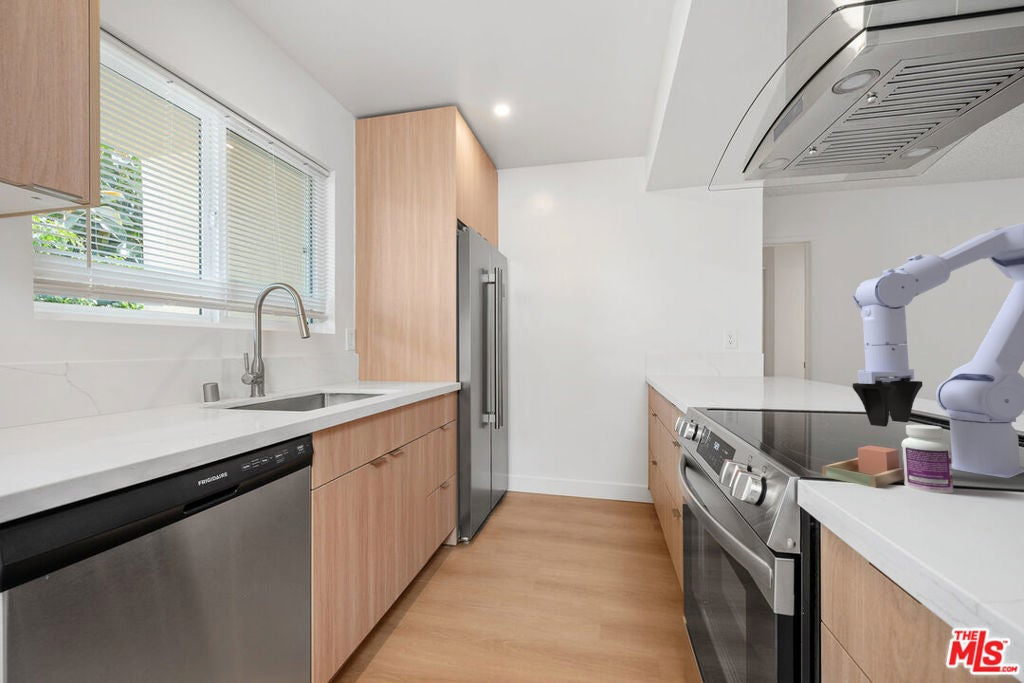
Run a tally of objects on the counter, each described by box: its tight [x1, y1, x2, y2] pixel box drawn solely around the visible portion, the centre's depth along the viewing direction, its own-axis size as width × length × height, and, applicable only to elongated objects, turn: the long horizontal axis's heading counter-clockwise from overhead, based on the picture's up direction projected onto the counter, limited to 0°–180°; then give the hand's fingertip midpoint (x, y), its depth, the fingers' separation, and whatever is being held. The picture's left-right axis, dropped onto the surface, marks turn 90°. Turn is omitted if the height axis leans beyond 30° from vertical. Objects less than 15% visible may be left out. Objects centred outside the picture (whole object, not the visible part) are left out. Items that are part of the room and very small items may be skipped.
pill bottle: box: [900, 424, 954, 494], centre depth 65 cm, size 5×5×10 cm
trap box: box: [821, 457, 904, 489], centre depth 72 cm, size 16×7×2 cm, turn 117°
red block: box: [857, 445, 900, 475], centre depth 73 cm, size 4×4×4 cm
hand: (889, 423), depth 75 cm, fingers open, 7 cm apart
